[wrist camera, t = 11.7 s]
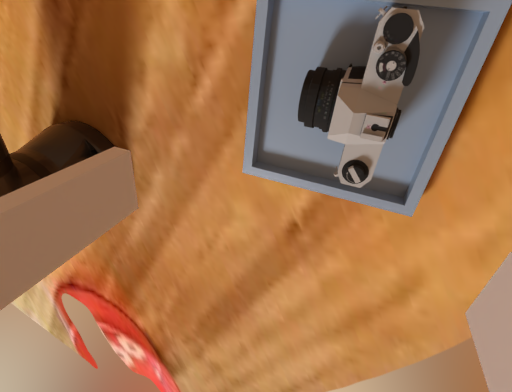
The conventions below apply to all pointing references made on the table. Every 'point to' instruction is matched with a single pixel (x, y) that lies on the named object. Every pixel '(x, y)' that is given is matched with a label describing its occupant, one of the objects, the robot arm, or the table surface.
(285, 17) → the tray
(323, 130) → the camera
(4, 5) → the table surface
